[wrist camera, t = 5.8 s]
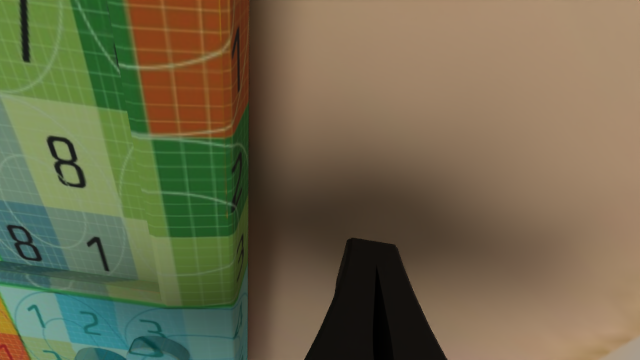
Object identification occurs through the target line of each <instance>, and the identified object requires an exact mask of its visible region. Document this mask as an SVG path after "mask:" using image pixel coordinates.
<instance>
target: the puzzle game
mask: <svg viewBox="0 0 640 360" xmlns="http://www.w3.org/2000/svg"><path fill="white" fill-rule="evenodd" d="M248 150H249V0H0V360H247V338H248Z"/></svg>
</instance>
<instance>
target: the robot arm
mask: <svg viewBox="0 0 640 360" xmlns="http://www.w3.org/2000/svg"><path fill="white" fill-rule="evenodd" d="M304 360H447V358H446V356H445V355H444V353H443V351H442V349H441V347H440V345H439V344H438V342H437V340H436V338H435V336H434V334H433V332H432V330H431V328H430V326H429V324H428V322H427V320H426V318H425V316H424V313H423V311H422V309H421V307H420V305H419V303H418V300H417V298H416V296H415V294H414V291H413V289H412V286H411V284H410V281H409V279H408V276H407V274H406V271H405V269H404V266H403V263H402V260H401V257H400V254H399V251H398V248H397V247H396V246H395V245H394V244H388V243H382V242H376V241H369V240H363V239H357V238H350V239H348V240H347V243H346V247H345V251H344V254H343V258H342V262H341V265H340V269H339V273H338V277H337V281H336V288H335V294H334V298H333V300H332V303H331V305H330V307H329V310H328V312H327V314H326V316H325V319H324V321H323V323H322V325H321V328H320V330H319V332H318V334H317V336H316V338H315V340H314V342H313V344H312V346H311V348H310V350H309V352H308V353H307V355H306V357H305V359H304Z"/></svg>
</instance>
